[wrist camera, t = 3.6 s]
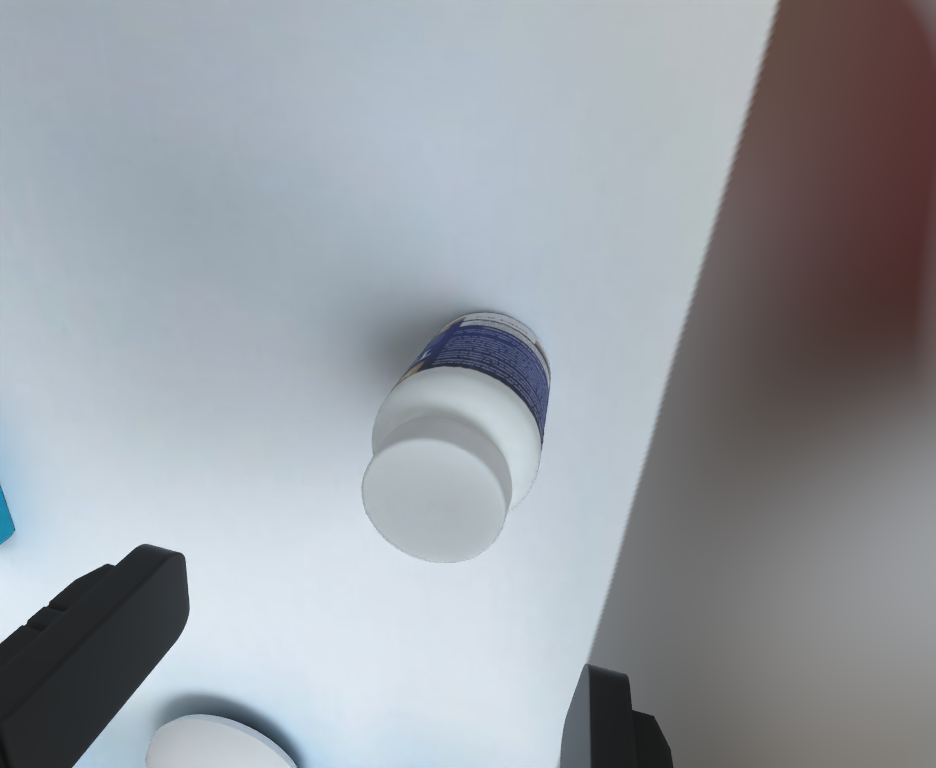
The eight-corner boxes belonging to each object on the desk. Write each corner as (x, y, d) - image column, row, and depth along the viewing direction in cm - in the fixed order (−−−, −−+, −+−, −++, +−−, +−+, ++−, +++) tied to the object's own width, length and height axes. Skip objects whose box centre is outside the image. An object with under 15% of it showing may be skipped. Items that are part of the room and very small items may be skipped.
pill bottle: (436, 296, 22) (341, 392, 14) (565, 325, 22) (553, 443, 13) (419, 411, 25) (329, 555, 16) (536, 439, 24) (509, 606, 15)
